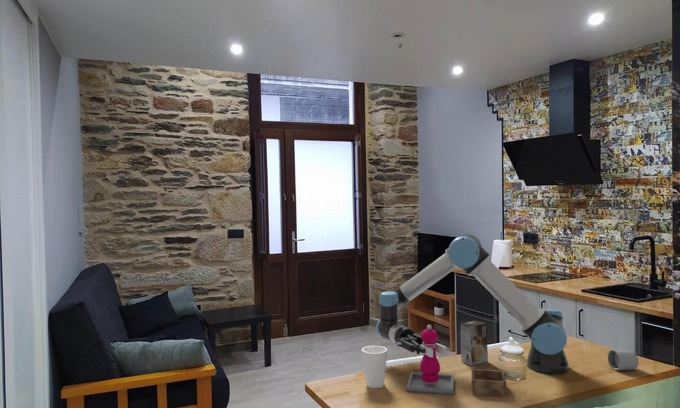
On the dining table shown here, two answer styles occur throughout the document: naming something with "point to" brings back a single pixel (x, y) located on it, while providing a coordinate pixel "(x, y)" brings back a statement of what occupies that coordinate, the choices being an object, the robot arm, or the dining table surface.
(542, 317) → the robot arm
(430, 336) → the pepper mill
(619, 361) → the grey slotted cylinder
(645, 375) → the dining table surface
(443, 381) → the slate tray
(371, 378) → the foam cup
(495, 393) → the wooden box
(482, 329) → the coffee box
